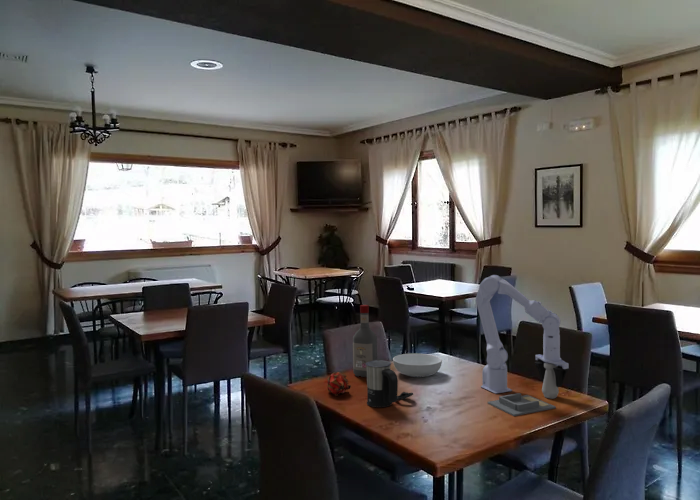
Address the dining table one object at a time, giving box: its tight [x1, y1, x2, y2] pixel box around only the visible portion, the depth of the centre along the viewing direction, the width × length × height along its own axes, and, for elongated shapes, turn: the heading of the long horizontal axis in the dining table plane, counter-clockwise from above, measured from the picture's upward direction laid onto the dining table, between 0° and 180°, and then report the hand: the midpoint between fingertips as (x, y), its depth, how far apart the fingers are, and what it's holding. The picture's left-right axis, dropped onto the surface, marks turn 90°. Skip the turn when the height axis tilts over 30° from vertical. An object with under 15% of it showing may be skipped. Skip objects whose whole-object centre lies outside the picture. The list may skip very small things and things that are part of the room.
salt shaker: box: [541, 362, 560, 400], centre depth 193 cm, size 6×6×13 cm
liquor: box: [352, 304, 378, 378], centre depth 226 cm, size 9×9×30 cm
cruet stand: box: [487, 392, 557, 417], centre depth 184 cm, size 14×18×3 cm
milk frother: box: [366, 359, 414, 408], centre depth 190 cm, size 14×16×15 cm
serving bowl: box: [392, 353, 443, 378], centre depth 225 cm, size 21×21×7 cm
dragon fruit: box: [326, 371, 352, 396], centre depth 202 cm, size 8×8×12 cm
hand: (551, 383), depth 193 cm, fingers open, 7 cm apart
